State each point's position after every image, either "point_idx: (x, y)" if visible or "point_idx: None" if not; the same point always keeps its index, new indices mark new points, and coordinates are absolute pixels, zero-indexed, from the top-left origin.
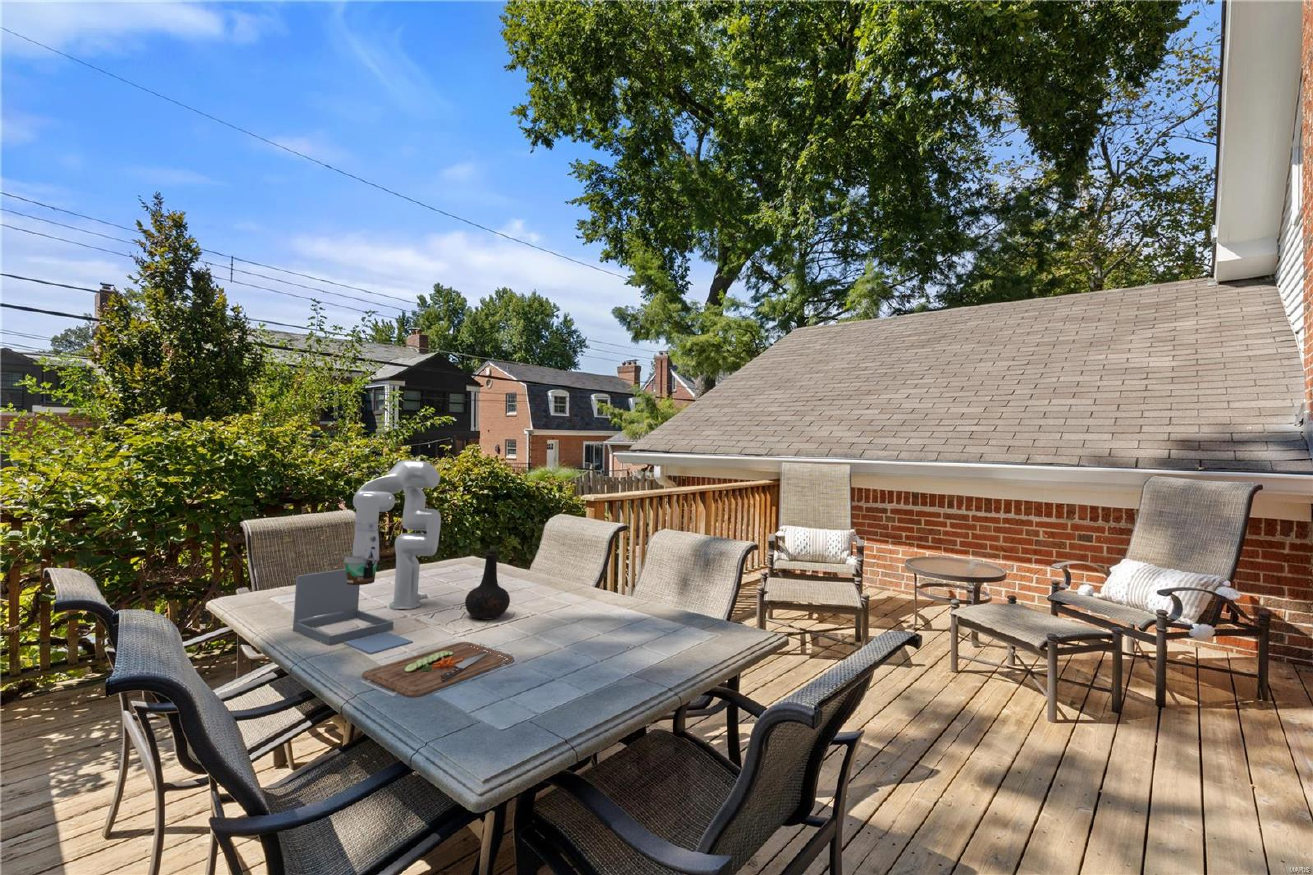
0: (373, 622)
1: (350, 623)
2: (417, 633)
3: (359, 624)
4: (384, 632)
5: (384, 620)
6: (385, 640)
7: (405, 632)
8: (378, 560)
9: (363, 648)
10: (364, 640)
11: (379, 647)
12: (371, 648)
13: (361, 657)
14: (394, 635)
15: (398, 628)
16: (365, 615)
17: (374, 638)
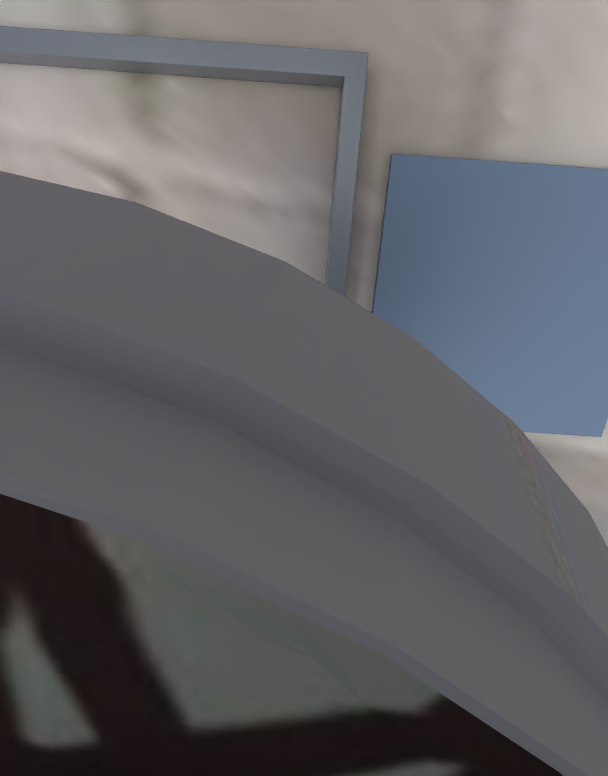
0: (140, 70)
1: (23, 168)
2: (577, 4)
3: (84, 143)
4: (393, 172)
5: (273, 71)
6: (523, 272)
7: (484, 50)
8: (599, 537)
9: (521, 419)
10: (420, 343)
11: (583, 365)
12: (557, 397)
13: (589, 475)
14: (497, 172)
15: (368, 14)
16: (11, 55)
17: (438, 288)
